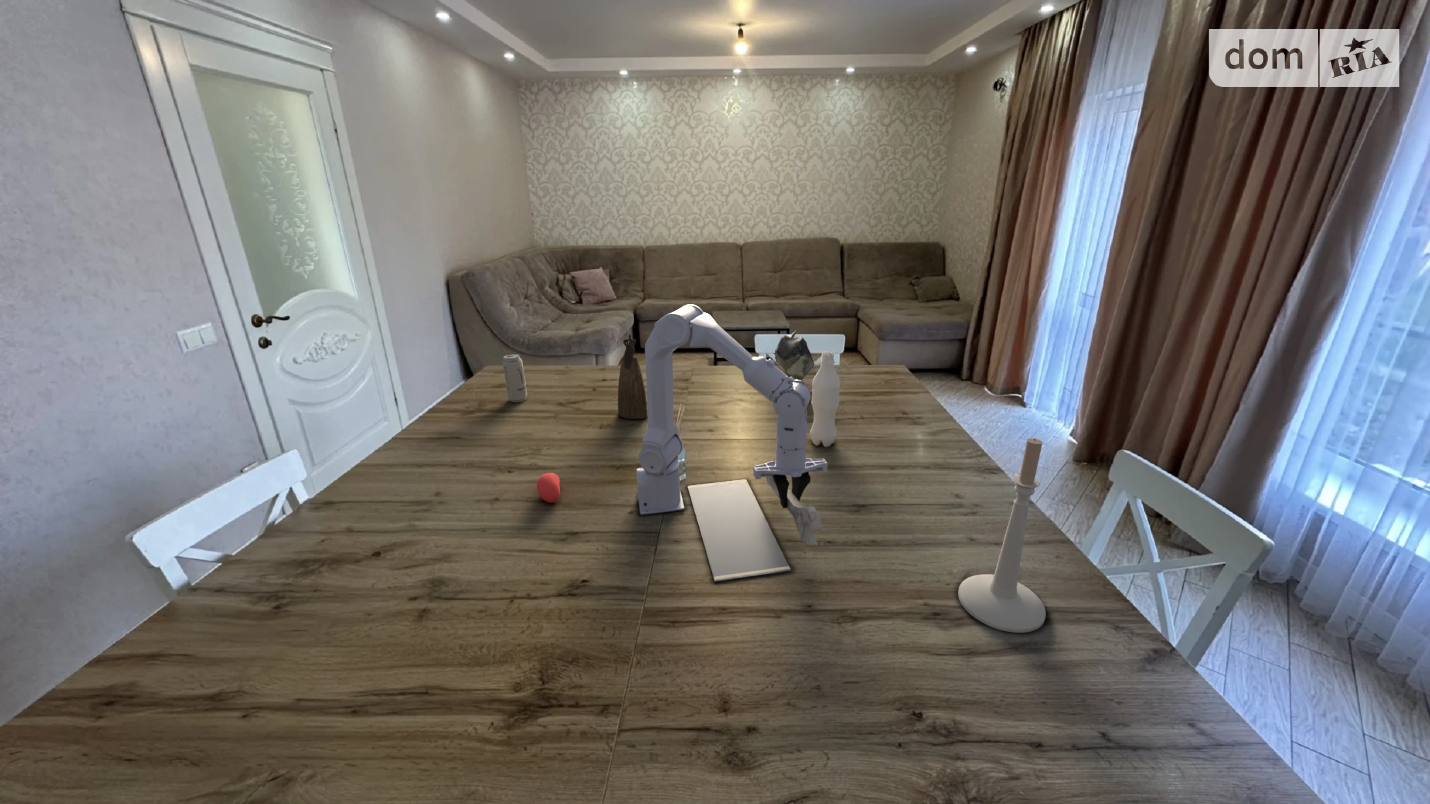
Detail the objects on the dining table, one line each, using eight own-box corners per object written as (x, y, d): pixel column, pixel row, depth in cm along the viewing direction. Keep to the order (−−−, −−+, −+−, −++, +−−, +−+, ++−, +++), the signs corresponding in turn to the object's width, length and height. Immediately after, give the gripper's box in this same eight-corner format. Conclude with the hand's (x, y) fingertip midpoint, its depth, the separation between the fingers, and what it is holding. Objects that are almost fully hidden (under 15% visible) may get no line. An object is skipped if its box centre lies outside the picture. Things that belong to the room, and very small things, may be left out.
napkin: (714, 582, 97) (714, 581, 97) (687, 486, 128) (687, 485, 128) (791, 571, 99) (791, 570, 99) (745, 479, 130) (745, 479, 130)
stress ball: (531, 509, 122) (536, 492, 118) (537, 478, 129) (542, 461, 125) (555, 513, 124) (560, 496, 120) (560, 482, 130) (565, 465, 127)
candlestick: (1042, 644, 82) (1088, 466, 71) (951, 613, 89) (980, 445, 78) (1047, 594, 92) (1087, 431, 81) (965, 568, 99) (992, 414, 88)
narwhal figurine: (770, 390, 186) (771, 339, 180) (773, 376, 200) (774, 328, 194) (813, 392, 184) (815, 340, 178) (813, 377, 198) (815, 328, 192)
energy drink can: (524, 402, 180) (517, 358, 175) (506, 403, 180) (498, 359, 175) (530, 396, 186) (523, 353, 180) (512, 396, 186) (505, 353, 181)
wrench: (773, 490, 126) (821, 557, 97) (765, 490, 125) (811, 559, 97) (772, 457, 123) (822, 516, 95) (765, 457, 123) (811, 517, 95)
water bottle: (806, 446, 146) (810, 356, 137) (812, 435, 152) (816, 348, 143) (833, 450, 144) (839, 358, 135) (838, 439, 150) (844, 350, 141)
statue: (645, 410, 172) (640, 332, 163) (648, 419, 165) (643, 338, 156) (618, 412, 171) (611, 334, 162) (619, 422, 164) (612, 340, 155)
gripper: (760, 457, 101) (759, 520, 106) (834, 449, 103) (830, 511, 108) (750, 441, 107) (750, 501, 112) (821, 433, 110) (817, 493, 115)
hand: (789, 504), depth 111 cm, fingers closed on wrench, 2 cm apart
